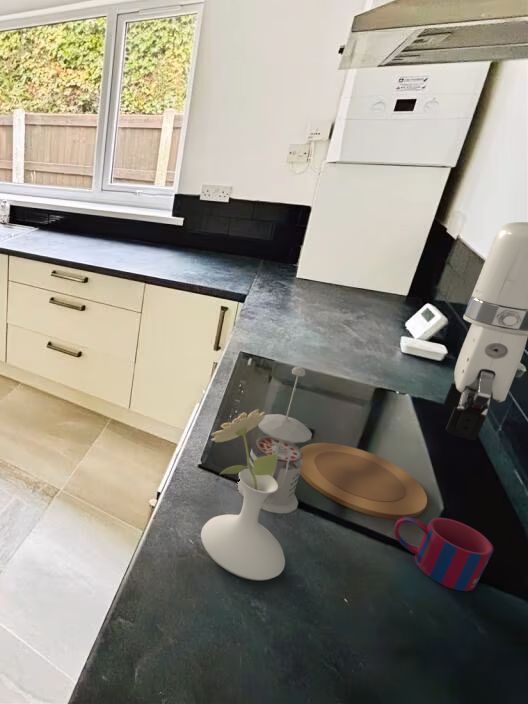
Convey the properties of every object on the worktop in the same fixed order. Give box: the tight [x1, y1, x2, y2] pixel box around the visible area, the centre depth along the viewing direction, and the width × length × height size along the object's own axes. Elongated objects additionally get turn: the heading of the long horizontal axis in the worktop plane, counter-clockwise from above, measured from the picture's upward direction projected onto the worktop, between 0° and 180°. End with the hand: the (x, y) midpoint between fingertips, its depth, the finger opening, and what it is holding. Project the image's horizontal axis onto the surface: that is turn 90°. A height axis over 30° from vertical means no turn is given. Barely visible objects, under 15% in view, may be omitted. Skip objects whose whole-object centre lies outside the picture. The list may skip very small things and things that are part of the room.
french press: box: [236, 366, 313, 514], centre depth 76 cm, size 10×12×25 cm
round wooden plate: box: [295, 442, 428, 520], centre depth 85 cm, size 20×20×1 cm
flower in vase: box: [200, 408, 286, 581], centre depth 65 cm, size 13×11×25 cm
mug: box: [393, 517, 494, 592], centre depth 67 cm, size 7×10×7 cm
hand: (458, 421), depth 69 cm, fingers open, 9 cm apart
